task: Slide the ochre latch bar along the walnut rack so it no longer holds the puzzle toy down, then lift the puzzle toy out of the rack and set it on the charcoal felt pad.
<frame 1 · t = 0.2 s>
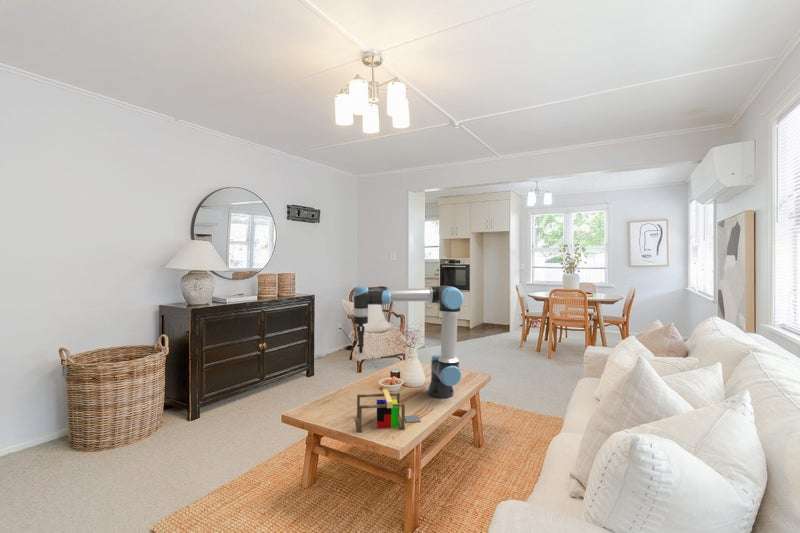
hand: (360, 355, 204), 28 cm above the table, fingers open, 13 cm apart
puzzle toy: (387, 424, 185), on the table
latch bar: (387, 398, 185), point 12 cm above the table, slide at 0.0 cm
pad: (412, 419, 190), on the table
rack: (380, 423, 184), on the table
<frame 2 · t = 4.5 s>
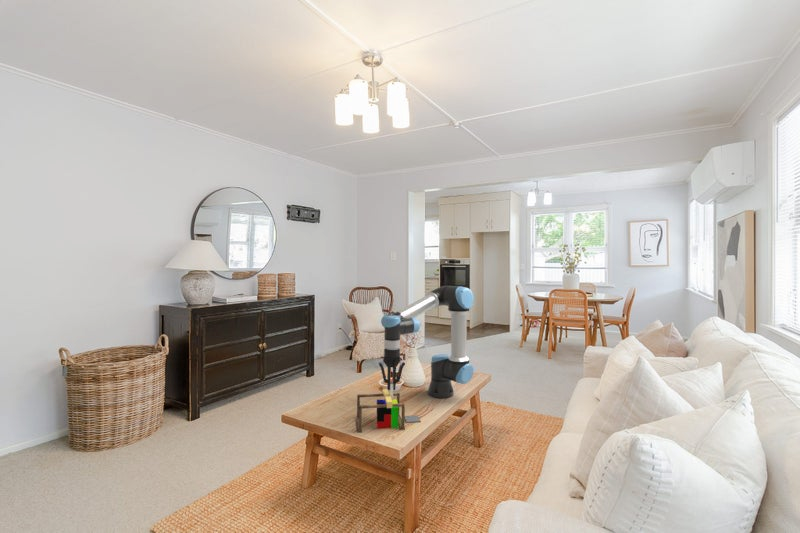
hand: (391, 396, 185), 13 cm above the table, fingers closed
latch bar: (387, 398, 185), point 12 cm above the table, slide at 0.1 cm, touching gripper
everything else where it was.
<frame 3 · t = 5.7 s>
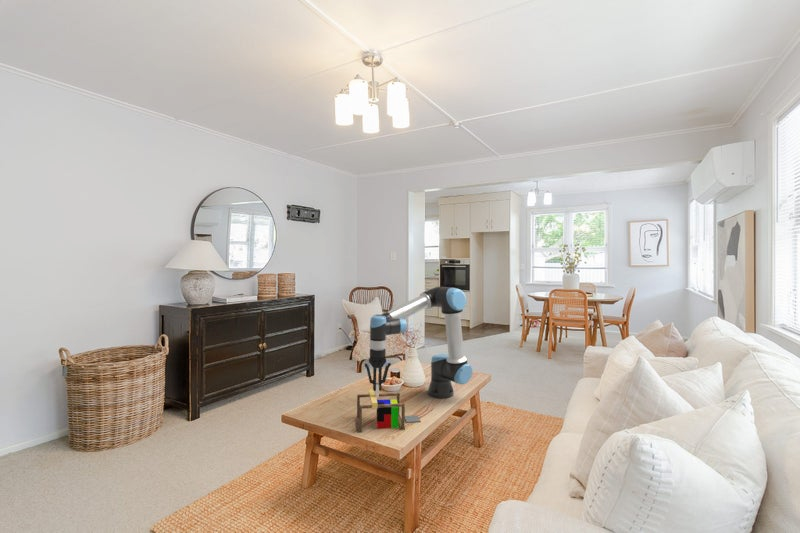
hand: (377, 397, 184), 13 cm above the table, fingers closed
latch bar: (372, 398, 184), point 12 cm above the table, slide at 7.1 cm, touching gripper
everything else where it was.
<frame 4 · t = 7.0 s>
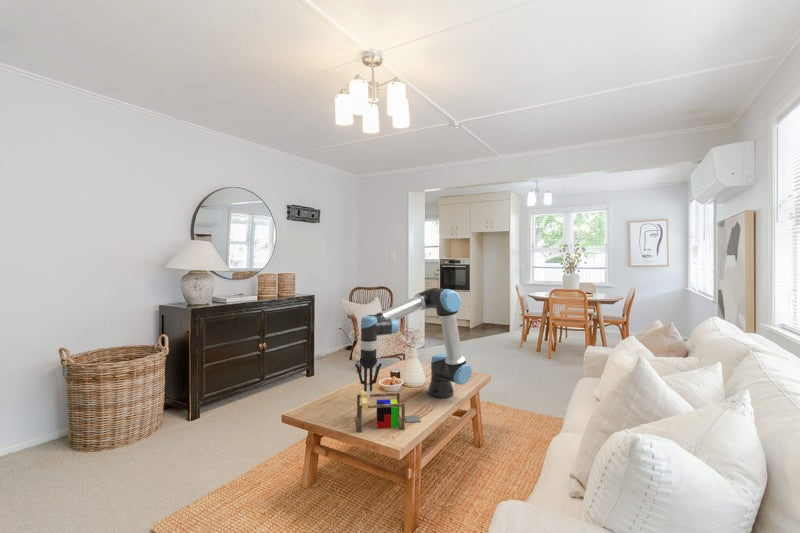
hand: (367, 397, 183), 13 cm above the table, fingers closed
latch bar: (363, 399, 183), point 12 cm above the table, slide at 11.4 cm, touching gripper
everything else where it was.
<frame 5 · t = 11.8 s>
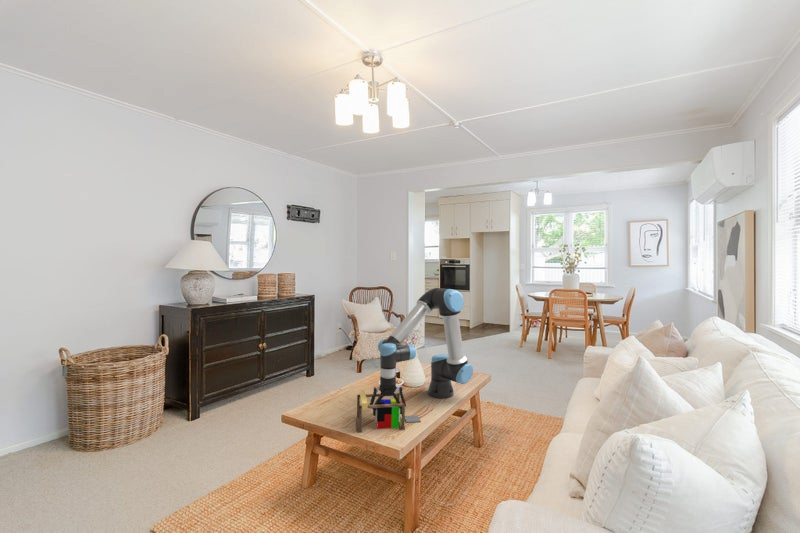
hand: (387, 421, 185), 1 cm above the table, fingers open, 10 cm apart
puzzle toy: (387, 424, 185), on the table, touching gripper, rack
latch bar: (363, 399, 183), point 12 cm above the table, slide at 11.6 cm
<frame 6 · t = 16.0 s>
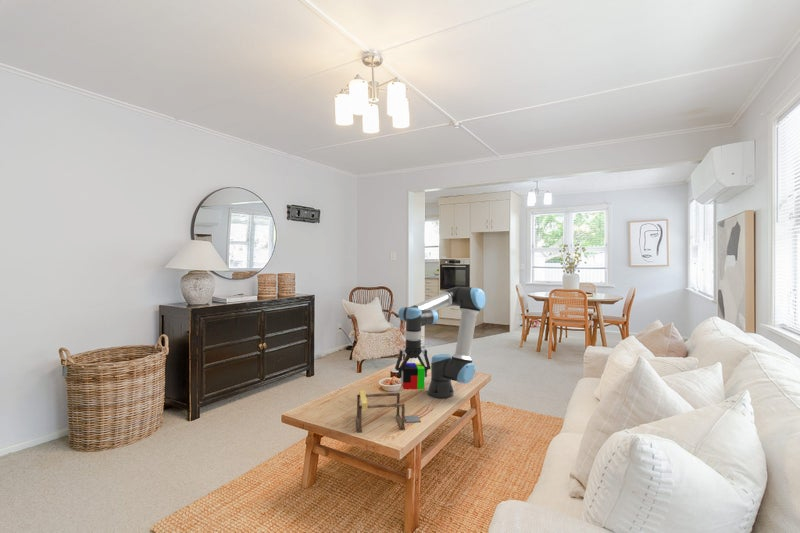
hand: (412, 383, 190), 18 cm above the table, fingers closed on puzzle toy, 10 cm apart
puzzle toy: (412, 386, 190), point 17 cm above the table, touching gripper
everything else where it was.
when the fingers open (3 cm above the table, at t = 19.1 s): puzzle toy drops 1 cm, resting on pad.
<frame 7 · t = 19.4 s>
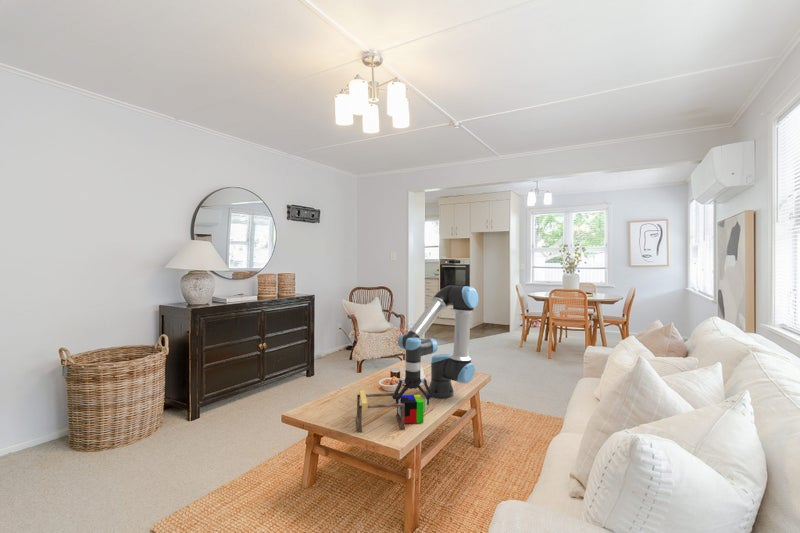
hand: (412, 412, 190), 4 cm above the table, fingers open, 13 cm apart
puzzle toy: (411, 418, 190), resting on pad
everything else where it was.
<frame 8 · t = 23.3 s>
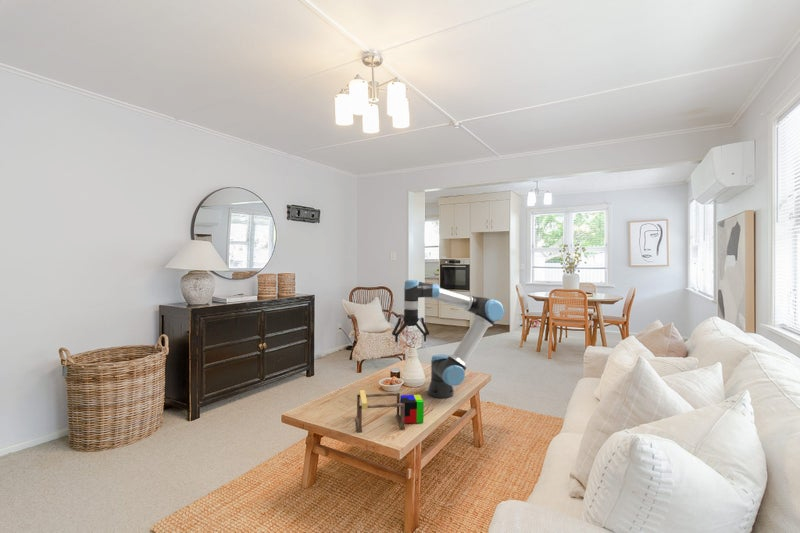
hand: (410, 347, 206), 32 cm above the table, fingers open, 13 cm apart
nothing on the table moved.
at the end: latch bar slide at 11.6 cm; puzzle toy inside the target area on the pad (0.3 cm from its centre), point 0.3 cm above the pad's base; puzzle toy tilted 0° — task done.
